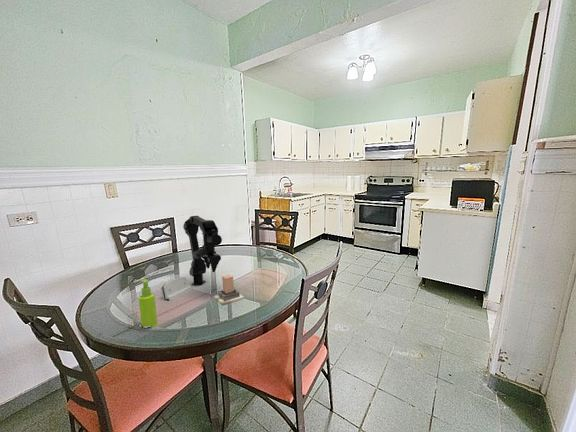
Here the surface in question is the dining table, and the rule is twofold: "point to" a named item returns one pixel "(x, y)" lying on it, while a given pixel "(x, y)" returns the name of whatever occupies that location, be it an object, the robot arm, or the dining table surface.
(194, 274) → the robot arm
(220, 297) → the square socket base
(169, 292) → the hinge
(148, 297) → the soap dispenser
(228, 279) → the brown rectangular block
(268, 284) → the dining table surface
